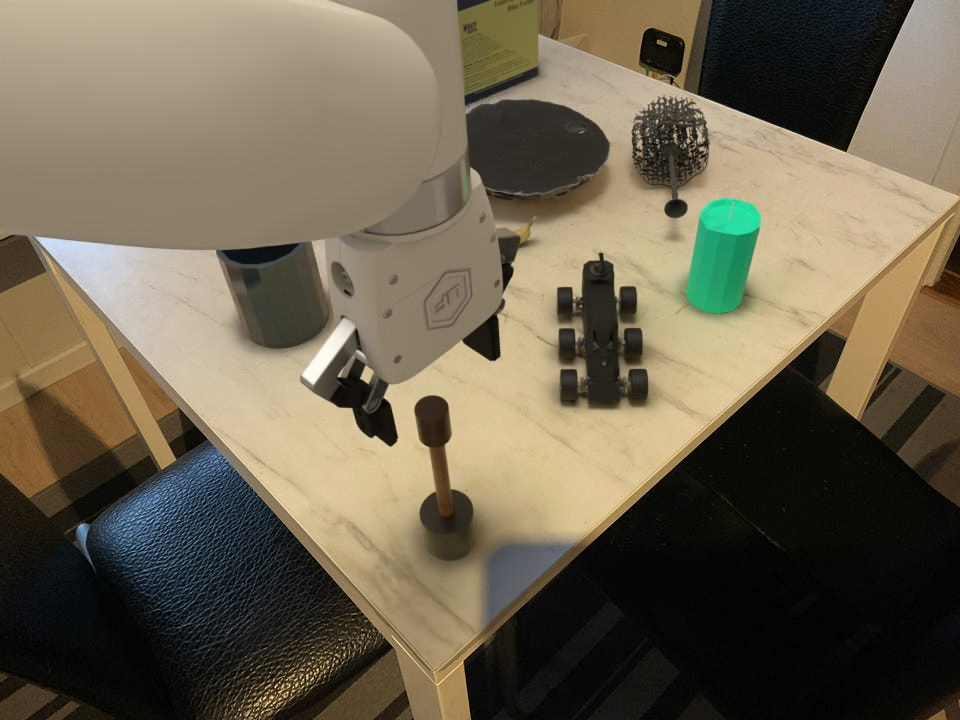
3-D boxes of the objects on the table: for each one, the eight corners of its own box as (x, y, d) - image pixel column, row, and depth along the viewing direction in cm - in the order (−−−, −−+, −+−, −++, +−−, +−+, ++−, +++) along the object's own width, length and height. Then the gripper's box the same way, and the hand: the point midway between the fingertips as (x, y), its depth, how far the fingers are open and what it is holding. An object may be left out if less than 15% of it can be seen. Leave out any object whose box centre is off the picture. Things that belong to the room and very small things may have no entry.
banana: (535, 238, 95) (535, 210, 92) (537, 247, 94) (537, 219, 91) (467, 243, 95) (465, 216, 92) (468, 253, 93) (466, 225, 91)
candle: (716, 269, 89) (735, 178, 80) (754, 300, 85) (778, 208, 77) (673, 289, 87) (689, 198, 79) (710, 321, 84) (731, 229, 75)
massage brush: (630, 240, 93) (637, 172, 87) (627, 140, 108) (633, 74, 102) (711, 243, 92) (726, 174, 86) (698, 141, 107) (709, 75, 101)
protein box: (540, 74, 122) (540, -31, 111) (458, 109, 116) (449, 1, 105) (498, 51, 128) (495, -51, 117) (418, 83, 122) (406, -21, 111)
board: (601, 128, 111) (604, 94, 107) (615, 224, 96) (618, 188, 92) (444, 133, 112) (441, 99, 108) (433, 228, 97) (429, 193, 93)
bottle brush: (431, 566, 66) (407, 439, 53) (419, 522, 69) (393, 393, 56) (482, 551, 66) (470, 423, 54) (468, 509, 69) (453, 377, 57)
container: (248, 356, 83) (218, 276, 75) (241, 301, 90) (212, 221, 82) (335, 336, 85) (314, 255, 77) (322, 282, 91) (301, 202, 83)
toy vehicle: (632, 302, 86) (640, 237, 80) (646, 408, 76) (657, 344, 70) (556, 303, 87) (558, 238, 80) (560, 409, 76) (562, 345, 70)
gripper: (313, 294, 36) (373, 503, 48) (560, 130, 44) (556, 345, 56) (219, 228, 39) (297, 438, 52) (463, 88, 47) (479, 299, 60)
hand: (432, 390), depth 54 cm, fingers open, 9 cm apart
